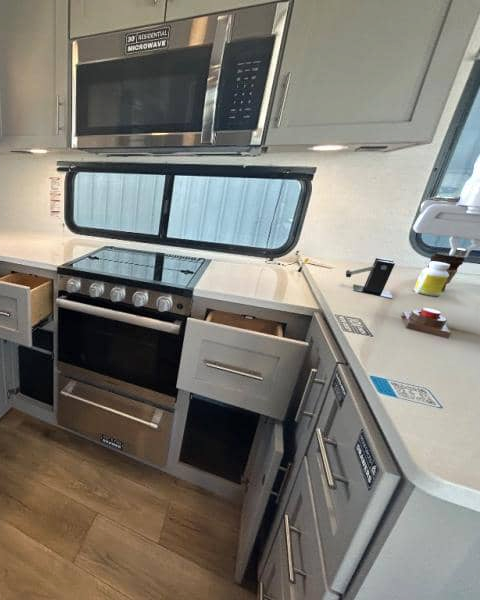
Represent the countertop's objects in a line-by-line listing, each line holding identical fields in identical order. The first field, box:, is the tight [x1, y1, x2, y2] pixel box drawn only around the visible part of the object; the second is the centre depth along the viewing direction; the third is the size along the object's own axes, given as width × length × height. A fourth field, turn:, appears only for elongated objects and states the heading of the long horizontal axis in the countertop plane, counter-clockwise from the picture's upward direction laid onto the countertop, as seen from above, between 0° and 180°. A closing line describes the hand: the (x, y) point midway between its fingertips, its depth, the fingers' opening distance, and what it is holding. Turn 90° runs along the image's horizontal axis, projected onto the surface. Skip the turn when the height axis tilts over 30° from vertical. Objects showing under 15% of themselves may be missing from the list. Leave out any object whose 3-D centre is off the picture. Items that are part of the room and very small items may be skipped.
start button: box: [420, 307, 442, 319], centre depth 87 cm, size 4×4×2 cm
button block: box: [400, 309, 452, 339], centre depth 88 cm, size 10×8×4 cm
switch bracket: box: [352, 257, 396, 300], centre depth 109 cm, size 10×8×12 cm
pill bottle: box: [412, 261, 450, 298], centre depth 110 cm, size 6×6×12 cm
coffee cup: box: [427, 252, 465, 292], centre depth 118 cm, size 9×8×13 cm
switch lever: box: [345, 261, 388, 278], centre depth 110 cm, size 11×5×2 cm
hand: (457, 256), depth 83 cm, fingers closed
